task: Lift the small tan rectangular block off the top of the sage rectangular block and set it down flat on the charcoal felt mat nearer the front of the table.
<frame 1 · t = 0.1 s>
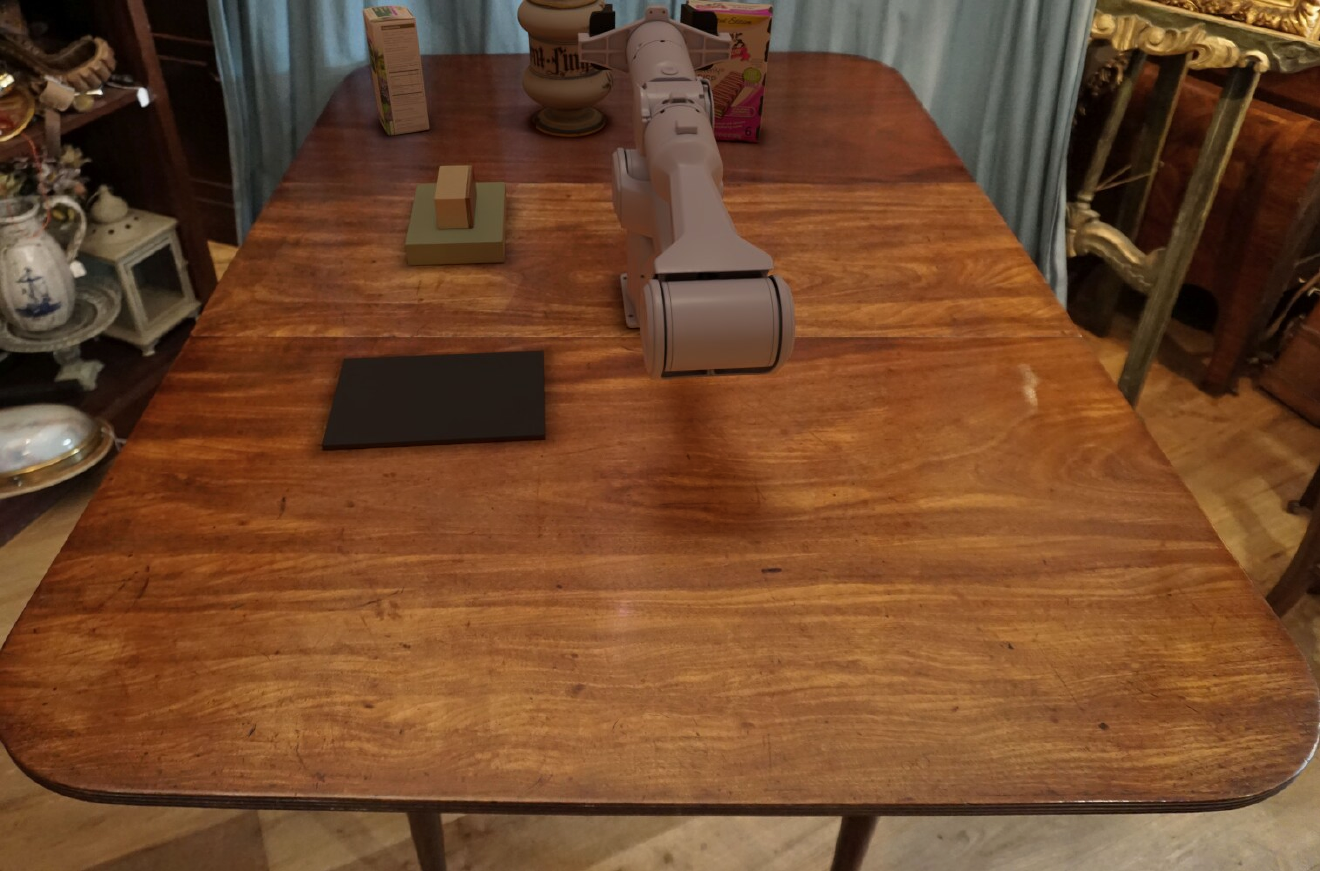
hand: (646, 13, 95), 22 cm above the table, tool horizontal, fingers open, 7 cm apart
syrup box: (405, 126, 126), on the table
sage rectangular block: (460, 231, 104), on the table, touching tan rectangular block
felt mat: (440, 399, 81), on the table
tan rectangular block: (457, 211, 102), point 2 cm above the table, touching sage rectangular block
candy bar box: (719, 136, 126), on the table
apothecary jar: (569, 123, 128), on the table
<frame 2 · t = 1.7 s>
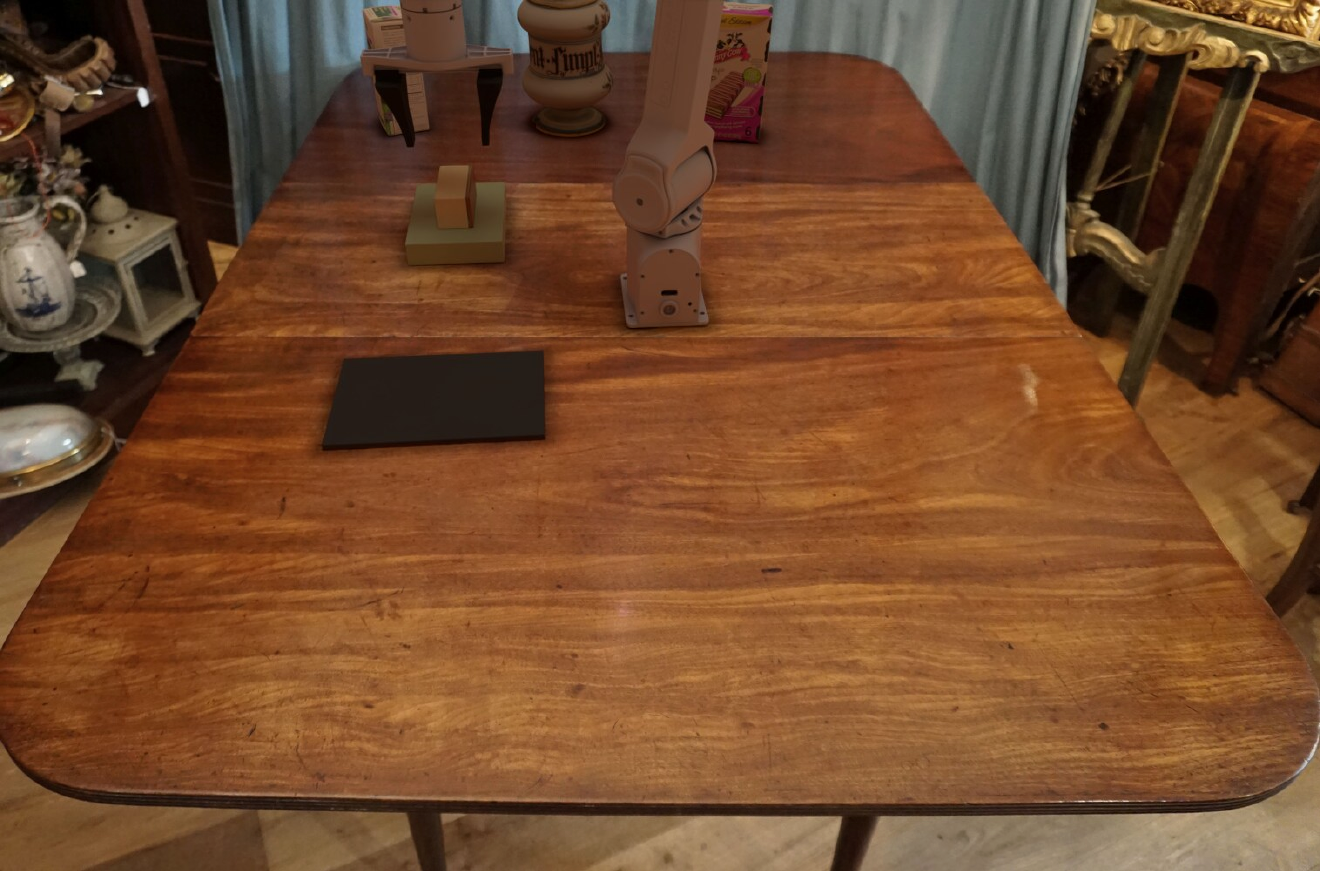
hand: (448, 142, 97), 10 cm above the table, tool pointing down, fingers open, 7 cm apart
nothing on the table moved.
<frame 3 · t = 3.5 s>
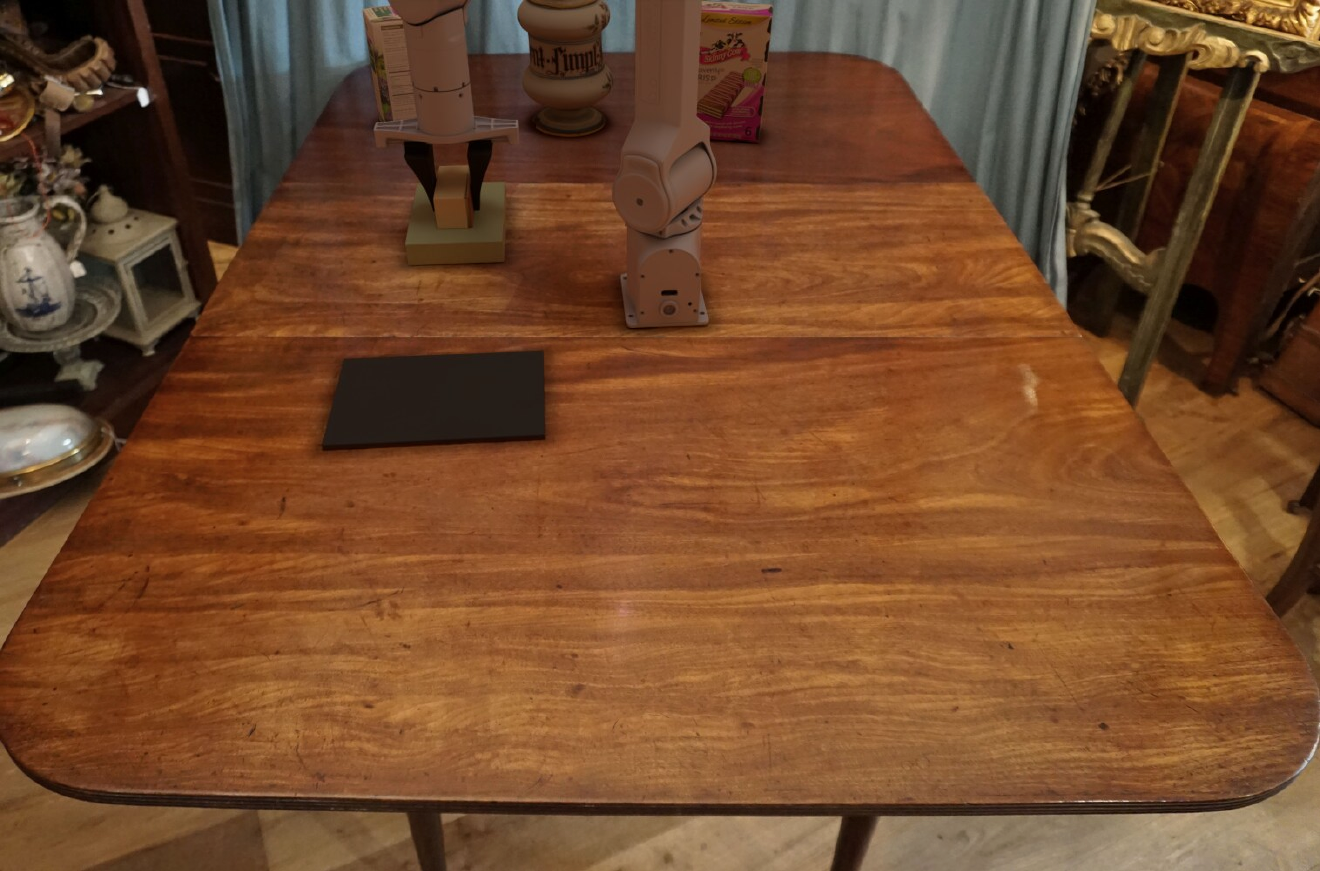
hand: (457, 207, 102), 3 cm above the table, tool pointing down, fingers closed on tan rectangular block, 4 cm apart
tan rectangular block: (457, 211, 102), point 3 cm above the table, touching gripper, sage rectangular block
everything else where it was.
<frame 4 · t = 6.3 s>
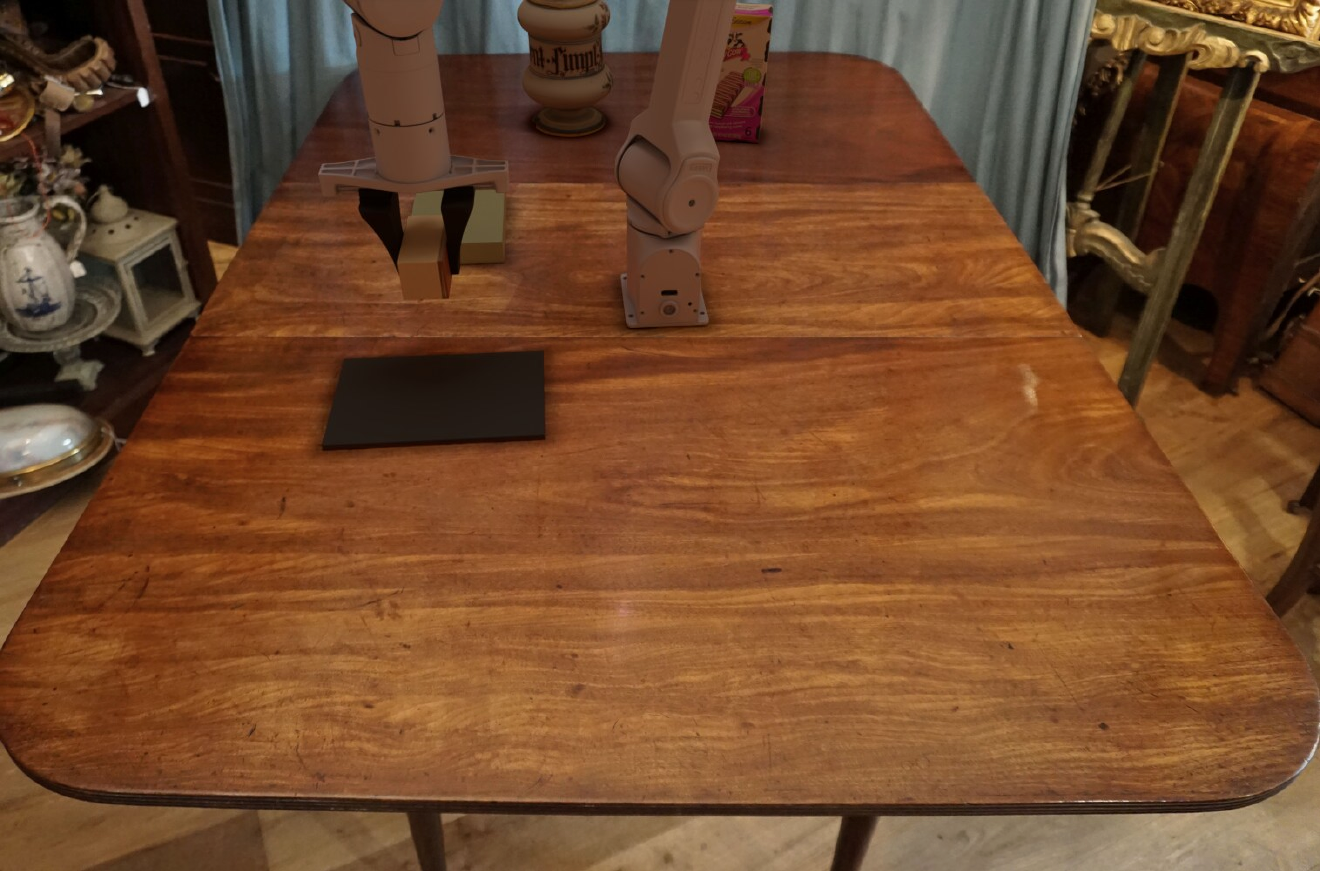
hand: (430, 269, 79), 10 cm above the table, tool pointing down, fingers closed on tan rectangular block, 4 cm apart
sage rectangular block: (460, 232, 104), on the table
tan rectangular block: (430, 274, 80), point 9 cm above the table, touching gripper
everything else where it was.
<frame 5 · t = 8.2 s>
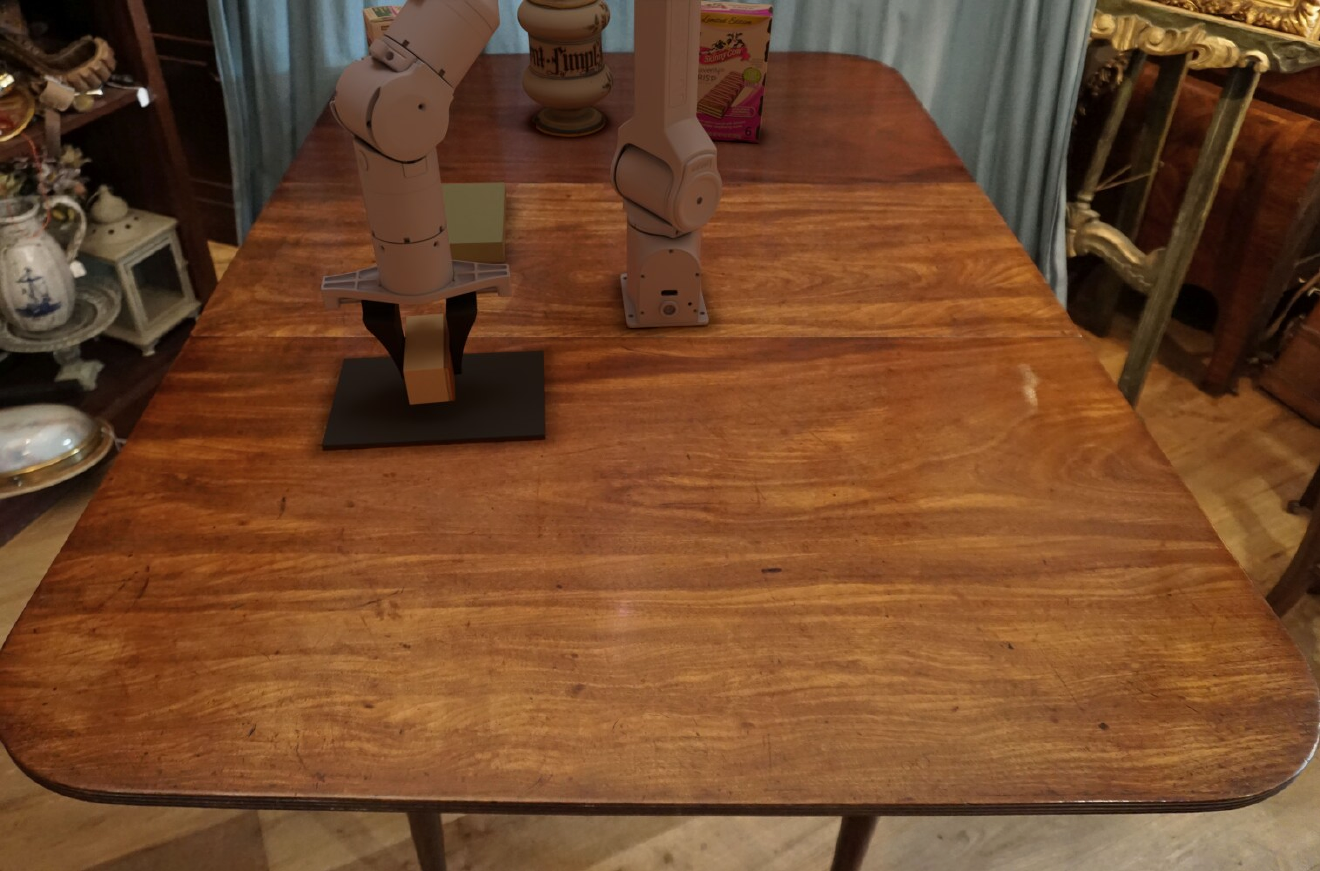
hand: (432, 369, 80), 3 cm above the table, tool pointing down, fingers closed on tan rectangular block, 4 cm apart
tan rectangular block: (432, 374, 80), point 2 cm above the table, touching gripper
everything else where it was.
when the fingers open (1 cm above the table, at t = 9.2 s): tan rectangular block stays where it is, resting on felt mat.
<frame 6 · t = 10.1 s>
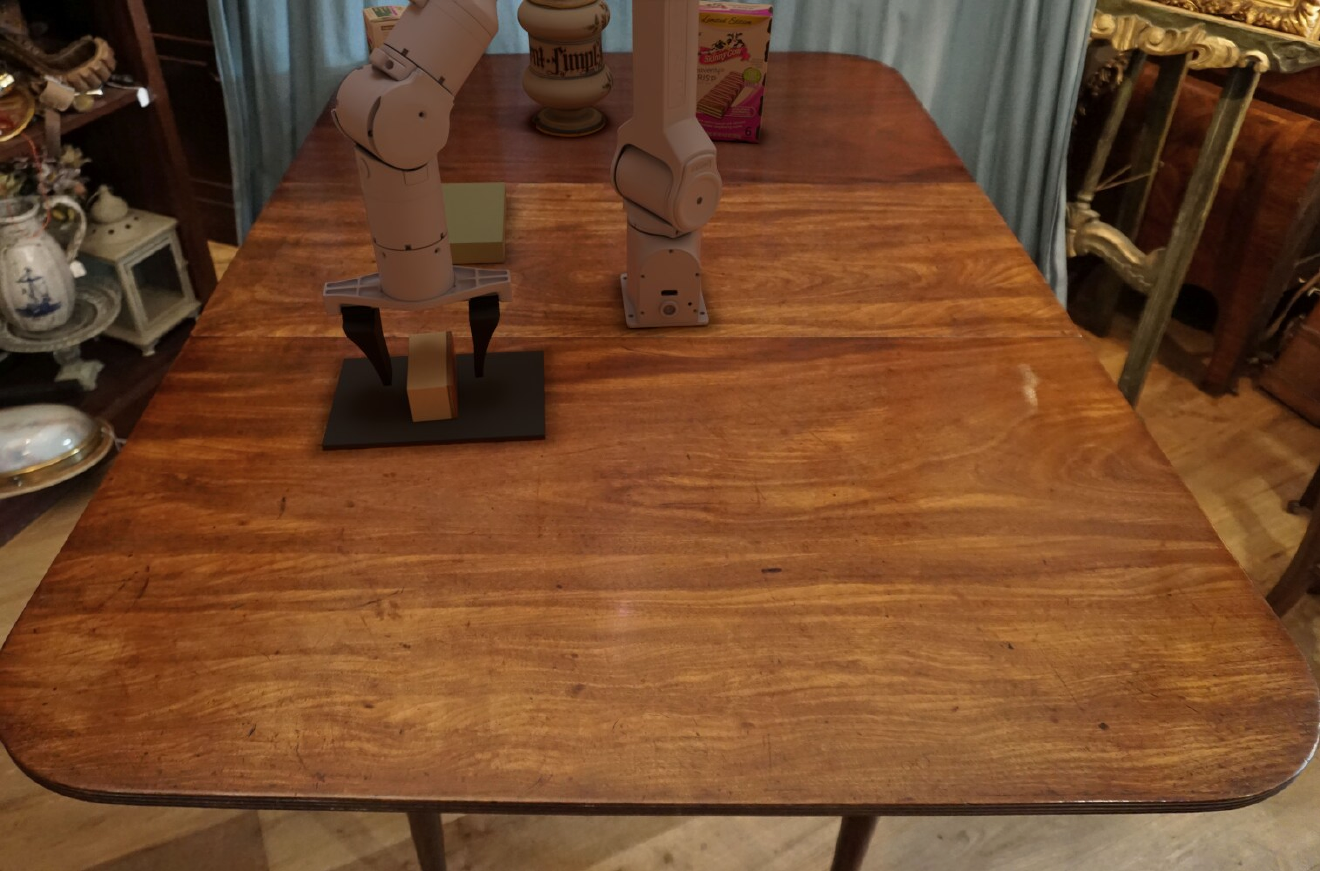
hand: (433, 374, 80), 2 cm above the table, tool pointing down, fingers open, 7 cm apart
tan rectangular block: (435, 391, 81), resting on felt mat
everything else where it was.
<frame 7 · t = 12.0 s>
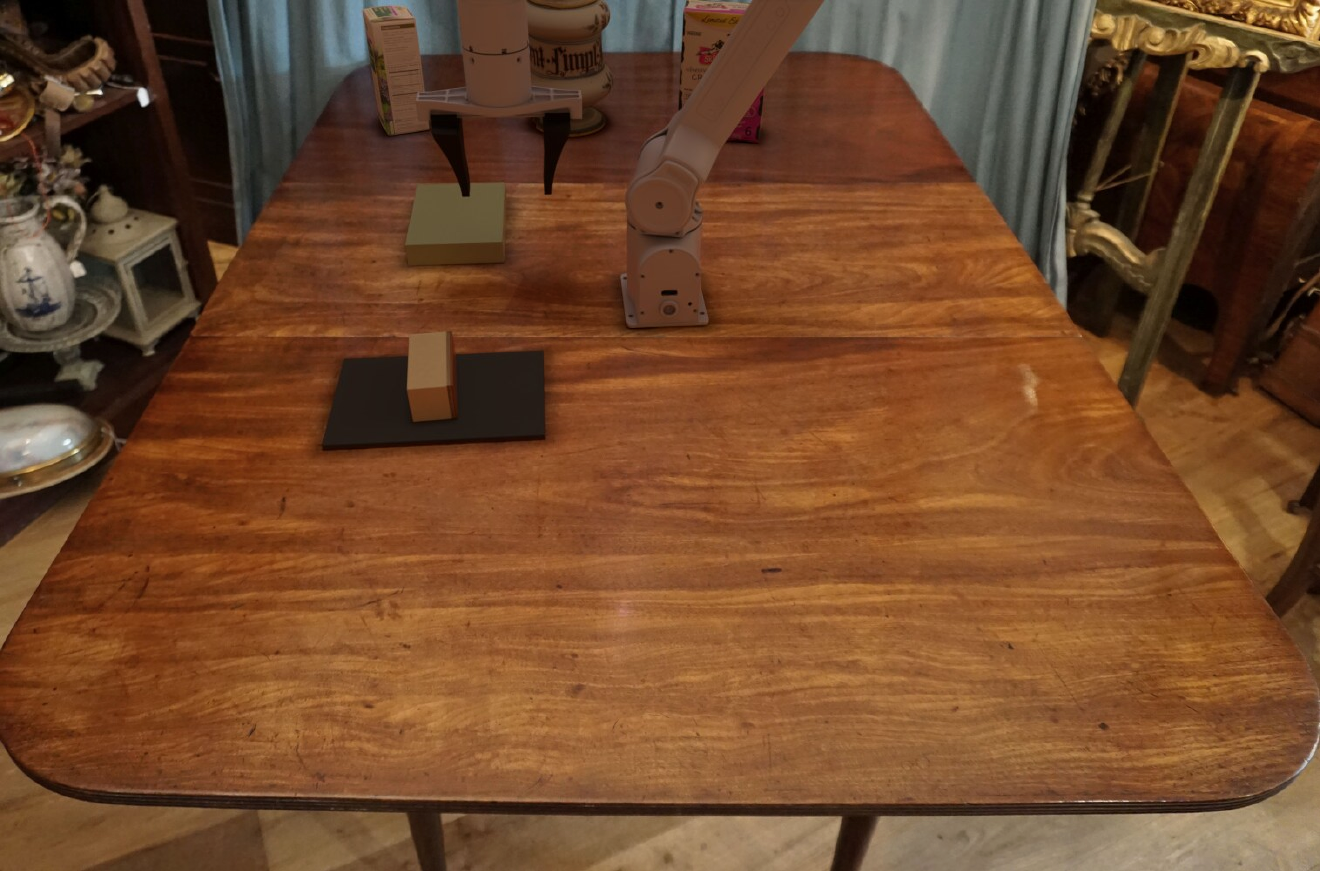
hand: (507, 191, 89), 10 cm above the table, tool pointing down, fingers open, 7 cm apart
nothing on the table moved.
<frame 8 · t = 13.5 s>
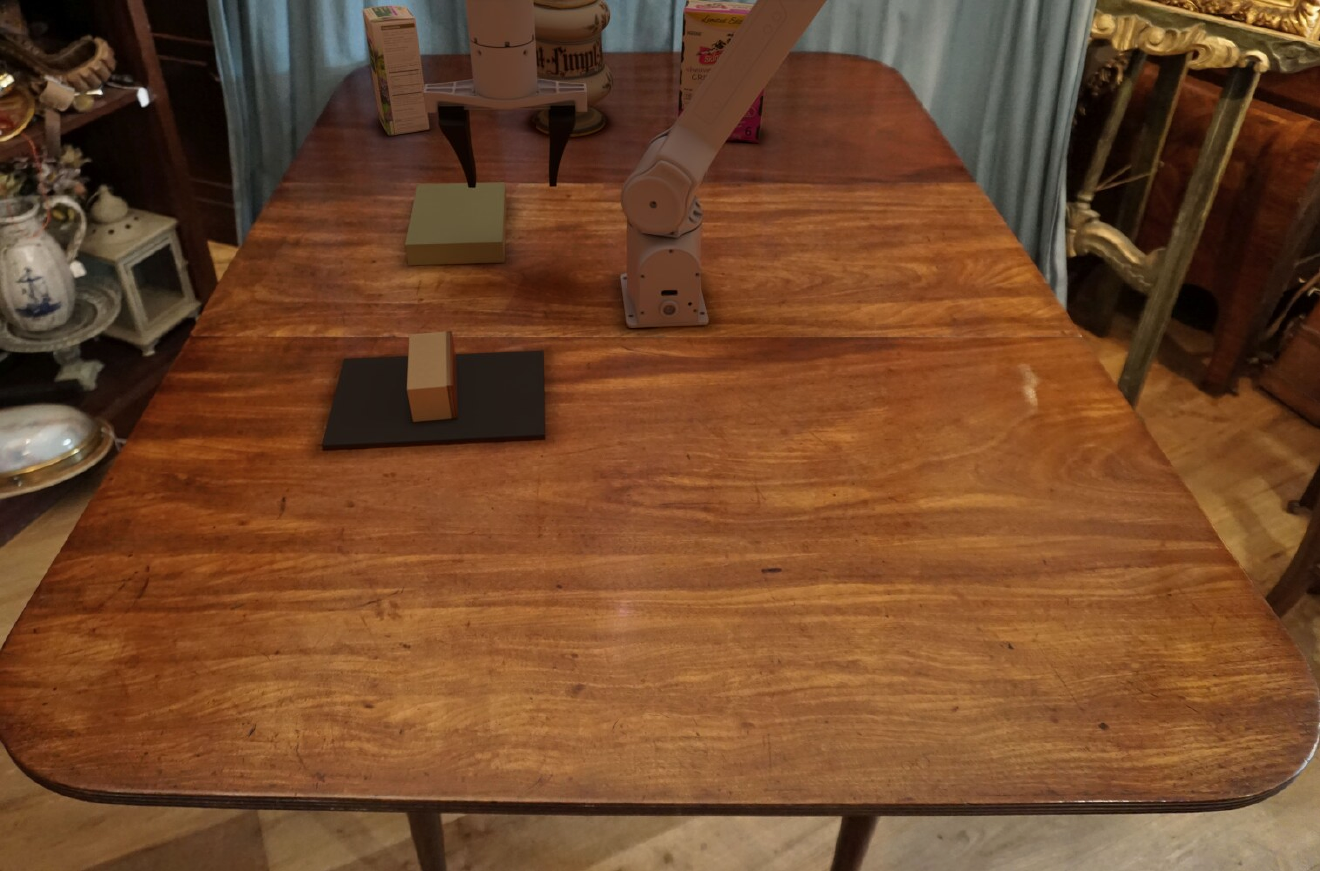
hand: (512, 182, 90), 10 cm above the table, tool pointing down, fingers open, 7 cm apart
nothing on the table moved.
at the end: tan rectangular block inside the target area on the felt mat (0.6 cm from its centre), point 0.5 cm above the felt mat's base; tan rectangular block touching felt mat; sage rectangular block moved 0.0 cm from its start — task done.
